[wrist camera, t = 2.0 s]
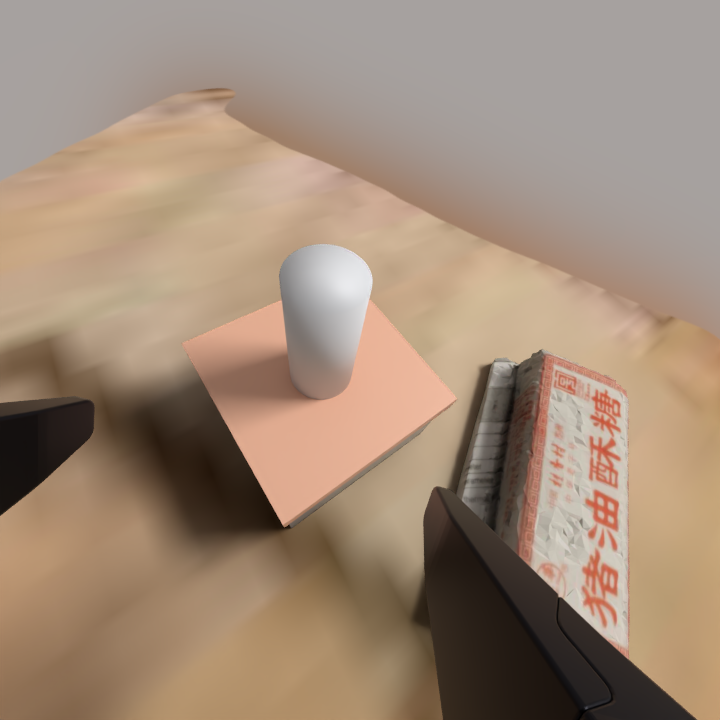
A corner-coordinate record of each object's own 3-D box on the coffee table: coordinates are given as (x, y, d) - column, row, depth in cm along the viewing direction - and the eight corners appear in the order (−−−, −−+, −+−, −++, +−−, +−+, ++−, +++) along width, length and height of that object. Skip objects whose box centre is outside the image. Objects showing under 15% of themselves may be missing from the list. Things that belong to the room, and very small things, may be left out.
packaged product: (518, 327, 23) (661, 385, 22) (486, 361, 28) (606, 412, 27) (454, 634, 14) (690, 753, 13) (421, 617, 18) (600, 706, 18)
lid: (443, 413, 20) (532, 319, 12) (286, 529, 16) (262, 502, 8) (343, 294, 23) (359, 160, 15) (193, 364, 19) (113, 232, 11)
